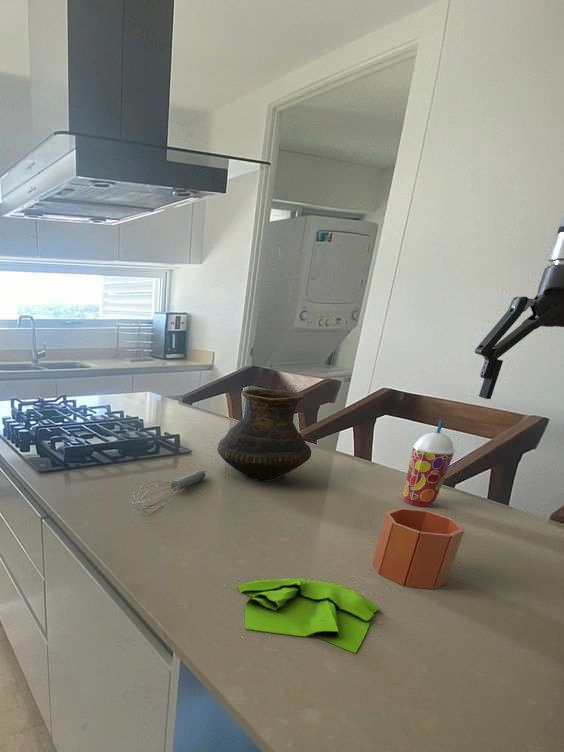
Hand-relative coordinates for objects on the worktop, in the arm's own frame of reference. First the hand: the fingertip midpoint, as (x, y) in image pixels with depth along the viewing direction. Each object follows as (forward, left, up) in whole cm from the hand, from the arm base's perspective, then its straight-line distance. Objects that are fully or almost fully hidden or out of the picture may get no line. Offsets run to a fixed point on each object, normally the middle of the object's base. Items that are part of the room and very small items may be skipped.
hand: (527, 400), depth 85 cm
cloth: (+22, +44, -29) cm, 57 cm away
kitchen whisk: (+62, +13, -29) cm, 70 cm away
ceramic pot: (+50, -15, -29) cm, 60 cm away
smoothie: (+12, -19, -29) cm, 37 cm away
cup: (+12, +15, -24) cm, 31 cm away
